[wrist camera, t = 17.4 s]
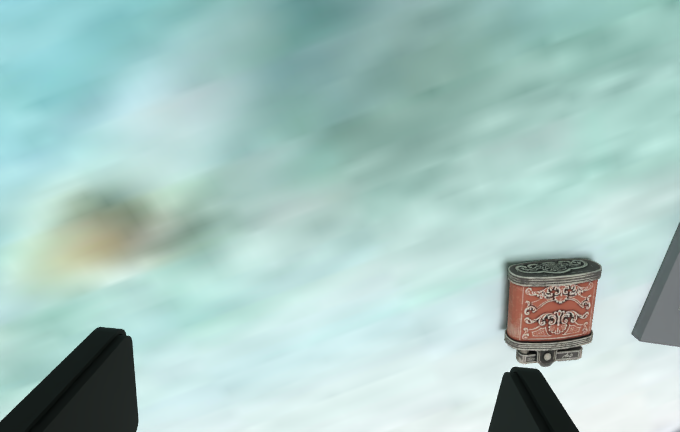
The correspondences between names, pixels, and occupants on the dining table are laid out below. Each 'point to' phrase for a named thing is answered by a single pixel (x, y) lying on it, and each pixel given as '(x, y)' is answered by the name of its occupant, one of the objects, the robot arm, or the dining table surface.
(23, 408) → the robot arm
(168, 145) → the dining table surface
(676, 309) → the mat
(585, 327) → the lighter
